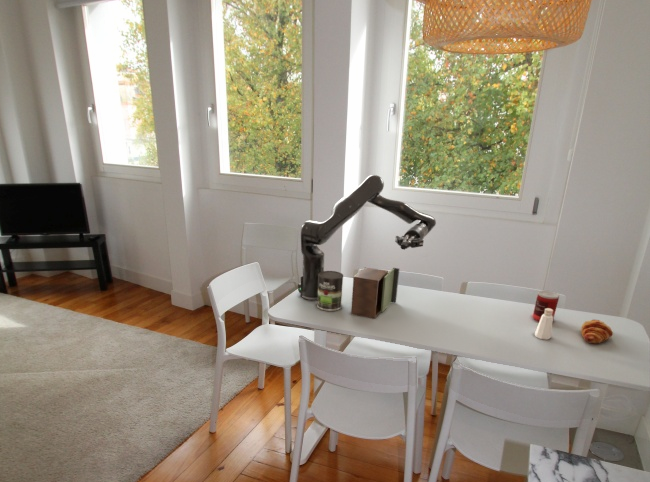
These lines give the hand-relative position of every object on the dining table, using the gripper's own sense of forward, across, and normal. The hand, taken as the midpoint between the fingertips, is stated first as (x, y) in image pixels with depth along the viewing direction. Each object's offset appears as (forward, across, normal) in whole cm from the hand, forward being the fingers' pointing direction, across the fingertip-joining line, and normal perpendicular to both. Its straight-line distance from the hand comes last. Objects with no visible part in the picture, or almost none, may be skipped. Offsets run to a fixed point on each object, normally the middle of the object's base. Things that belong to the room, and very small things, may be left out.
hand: (402, 247), depth 196 cm
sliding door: (+13, 0, -22) cm, 26 cm away
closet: (+20, +6, -22) cm, 31 cm away
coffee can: (+24, +22, -23) cm, 40 cm away
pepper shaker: (+10, -59, -22) cm, 64 cm away
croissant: (0, -77, -22) cm, 80 cm away
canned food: (-8, -58, -23) cm, 63 cm away
